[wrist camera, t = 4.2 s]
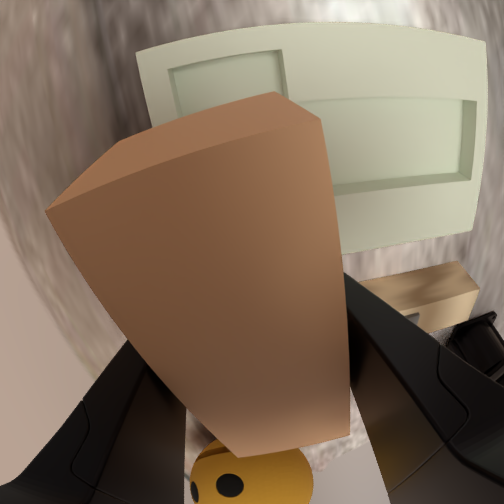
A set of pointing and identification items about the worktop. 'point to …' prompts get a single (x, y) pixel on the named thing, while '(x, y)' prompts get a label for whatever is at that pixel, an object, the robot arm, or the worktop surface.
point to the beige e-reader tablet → (429, 295)
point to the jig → (353, 113)
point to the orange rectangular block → (224, 267)
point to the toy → (250, 477)
